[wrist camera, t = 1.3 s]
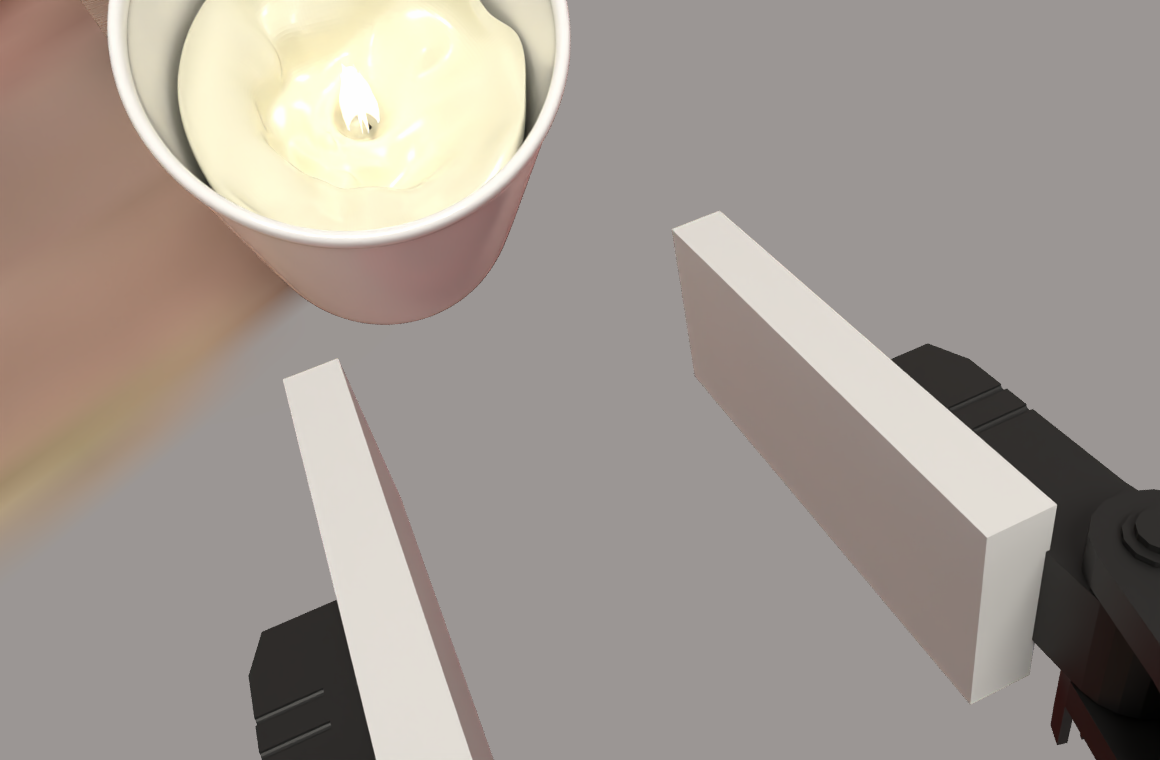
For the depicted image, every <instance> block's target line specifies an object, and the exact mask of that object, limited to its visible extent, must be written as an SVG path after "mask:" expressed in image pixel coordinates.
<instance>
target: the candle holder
mask: <svg viewBox="0 0 1160 760" xmlns="http://www.w3.org/2000/svg"><path fill="white" fill-rule="evenodd" d="M107 37H108V49H109V56H110V62H111V67H112V72H113V76H114V80H115V83H116V87H117V90H118V93H119V95H120V98H121V101H122V103H123V106H124V108H125V110H126V112H127V114H128V117H129V119H130V120H131V122H132V124H133V126H134V128H135V130H136V131H137V133H138V135H139V136H140V138H141V139H142V141H143V142H144V144H145V145H146V147H147V148H148V150H149V151H150V152H151V154H152V155H153V156H154V157H155V159H156V160H157V161H158V162H159V163H160V165H161V166H162V167H163V168H164V169H165V170H166V171H167V172H168V173H169V174H170V175H171V176H172V177H173V178H174V179H175V180H176V181H177V182H178V183H179V184H180V185H181V186H182V187H183V188H184V189H186V190H187V191H188V192H189V193H190V194H192V195H193V196H194V197H196V198H197V199H198V200H200V201H201V202H202V203H204V204H205V205H206V206H207V207H208V208H209V209H210V210H211V211H212V212H213V213H214V214H215V215H216V216H217V217H218V218H220V219H221V220H222V221H223V222H224V223H225V224H226V225H227V226H228V227H229V228H230V229H231V230H232V231H233V232H234V233H235V234H236V235H237V236H238V237H239V238H240V239H241V240H242V241H243V242H244V243H245V244H246V245H247V246H248V247H249V248H250V249H251V250H252V251H253V252H254V253H255V254H256V255H257V256H258V257H259V258H260V259H261V260H262V261H263V262H264V263H265V264H266V265H267V266H268V267H269V268H270V269H271V270H272V271H273V272H274V273H275V274H277V275H278V276H279V277H280V278H281V279H282V280H283V281H284V282H285V283H286V284H287V285H288V286H290V287H291V288H292V289H293V290H294V291H295V292H297V293H298V294H299V295H300V296H302V297H303V298H305V299H306V300H307V301H309V302H310V303H312V304H314V305H315V306H317V307H319V308H321V309H322V310H324V311H327V312H329V313H331V314H333V315H336V316H339V317H342V318H345V319H348V320H352V321H356V322H361V323H368V324H380V325H387V324H388V325H389V324H401V323H408V322H412V321H417V320H421V319H424V318H427V317H430V316H433V315H435V314H437V313H440V312H442V311H444V310H446V309H448V308H449V307H451V306H453V305H454V304H456V303H458V302H459V301H460V300H462V299H463V298H464V297H466V296H467V295H468V294H469V293H470V292H472V291H473V290H474V289H475V288H476V287H477V286H478V285H479V284H480V283H481V281H482V280H483V279H484V278H485V277H486V275H487V274H488V273H489V271H490V270H491V268H492V267H493V265H494V263H495V262H496V260H497V258H498V257H499V255H500V253H501V251H502V249H503V246H504V244H505V242H506V239H507V237H508V234H509V232H510V229H511V227H512V224H513V222H514V219H515V216H516V213H517V210H518V208H519V205H520V203H521V200H522V197H523V194H524V191H525V189H526V186H527V183H528V181H529V178H530V175H531V172H532V169H533V167H534V164H535V161H536V159H537V156H538V153H539V150H540V148H541V145H542V142H543V141H544V138H545V137H546V135H547V133H548V131H549V129H550V127H551V125H552V123H553V121H554V119H555V116H556V114H557V111H558V108H559V106H560V103H561V100H562V96H563V92H564V89H565V84H566V80H567V75H568V69H569V60H570V46H571V44H570V42H571V35H570V20H569V11H568V5H567V0H109V4H108V15H107Z"/></svg>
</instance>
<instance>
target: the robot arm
mask: <svg viewBox="0 0 1160 760" xmlns="http://www.w3.org/2000/svg"><path fill="white" fill-rule="evenodd" d="M672 234H673V241H674V247H675V253H676V260H677V266H678V272H679V279H680V285H681V291H682V298H683V304H684V310H685V317H686V323H687V329H688V336H689V342H690V348H691V354H692V360H693V368H694V374H695V377H696V378H697V379H698V381H699V382H700V383H701V384H702V385H703V387H704V388H705V389H706V390H707V391H708V393H709V394H710V395H711V396H712V397H713V398H714V400H715V401H716V402H717V403H718V405H719V406H720V407H721V408H722V409H723V411H724V412H725V413H726V414H727V415H728V416H729V418H730V419H731V420H732V421H733V422H734V424H735V425H736V426H737V427H738V428H739V430H740V431H741V432H742V433H743V434H744V435H745V437H746V438H747V439H748V440H749V442H750V443H751V444H752V445H753V446H754V447H755V449H756V450H757V451H758V452H759V453H760V455H761V456H762V457H763V458H764V459H765V461H766V462H767V463H768V464H769V465H770V466H771V468H772V469H773V470H774V471H775V472H776V474H777V475H778V476H779V477H780V478H781V480H782V481H783V482H784V483H785V484H786V486H787V487H788V488H789V489H790V490H791V491H792V493H793V494H794V495H795V496H796V497H797V499H798V500H799V501H800V502H801V503H802V505H803V506H804V507H805V508H806V509H807V511H808V512H809V513H810V514H811V515H812V516H813V518H814V519H815V520H816V521H817V523H818V524H819V525H820V526H821V527H822V528H823V530H824V531H825V532H826V533H827V534H828V536H829V537H830V538H831V539H832V540H833V541H834V543H835V544H836V545H837V546H838V548H839V549H840V550H841V551H842V552H843V553H844V555H845V556H846V557H847V558H848V560H849V561H850V562H851V563H852V564H853V565H854V567H855V568H856V569H857V570H858V571H859V573H860V574H861V575H862V576H863V577H864V579H865V580H866V581H867V582H868V583H869V585H870V586H872V588H873V589H874V590H875V592H876V593H877V594H878V595H879V596H880V598H881V599H882V600H883V601H884V602H885V604H886V605H887V606H888V607H889V608H890V609H891V611H892V612H893V613H894V614H895V616H896V617H897V618H898V619H899V620H900V621H901V622H902V624H903V625H904V626H905V627H906V629H907V630H908V631H909V632H910V633H911V635H912V636H913V637H914V638H915V639H916V641H917V642H918V643H919V644H920V645H921V647H922V648H923V649H924V650H925V651H926V652H927V654H928V655H929V656H930V657H931V658H932V660H933V661H934V662H935V663H936V664H937V666H938V667H939V668H940V669H941V670H942V671H943V673H944V674H945V675H946V676H947V678H948V679H949V680H950V681H951V682H952V684H953V685H954V686H955V687H956V688H957V689H958V691H959V692H960V693H961V694H962V695H963V697H965V699H966V700H967V701H968V703H969V704H970V705H971V704H973V703H975V702H976V701H979V700H981V699H983V698H985V697H986V696H988V695H991V694H992V693H994V692H996V691H998V690H1000V689H1002V688H1004V687H1006V686H1008V685H1010V684H1012V683H1014V682H1016V681H1018V680H1020V679H1022V678H1024V677H1026V676H1028V675H1029V674H1030V668H1031V661H1032V656H1033V650H1034V643H1036V644H1037V645H1038V646H1039V647H1040V648H1041V650H1042V651H1043V652H1044V653H1045V654H1046V655H1047V656H1048V657H1049V658H1050V659H1051V660H1052V661H1053V662H1054V663H1055V664H1056V665H1057V666H1058V667H1059V668H1060V669H1061V671H1060V676H1059V681H1058V687H1057V692H1056V697H1055V702H1054V707H1053V714H1052V720H1051V728H1052V731H1053V734H1054V737H1055V740H1056V743H1057V745H1059V744H1064V743H1067V741H1068V737H1069V732H1070V728H1071V723H1072V719H1073V721H1074V723H1075V724H1076V726H1077V728H1078V730H1079V731H1080V736H1081V739H1084V740H1085V742H1086V743H1087V745H1088V747H1089V748H1090V750H1091V752H1092V754H1093V755H1094V757H1095V759H1096V760H1160V490H1155V489H1153V490H1140V491H1138V490H1136V489H1135V488H1133V487H1132V486H1130V485H1129V484H1127V483H1126V482H1124V481H1123V480H1122V479H1120V478H1119V477H1118V476H1117V475H1115V474H1114V473H1113V472H1111V471H1110V470H1109V469H1108V468H1106V467H1105V466H1104V465H1103V464H1101V463H1100V462H1099V461H1098V460H1096V459H1095V458H1094V457H1093V456H1091V455H1090V454H1089V453H1087V452H1086V451H1085V450H1084V449H1082V448H1081V447H1080V446H1079V445H1077V444H1076V443H1075V442H1074V441H1072V440H1071V439H1070V438H1069V437H1067V436H1066V435H1065V434H1063V433H1062V432H1061V431H1060V430H1058V429H1057V428H1056V427H1054V426H1053V425H1052V424H1051V423H1049V422H1048V421H1047V420H1046V419H1044V418H1043V417H1042V416H1041V415H1039V414H1038V413H1037V412H1036V411H1034V410H1033V409H1032V410H1029V409H1028V408H1027V406H1026V403H1024V402H1023V401H1022V400H1020V399H1019V398H1018V397H1017V396H1015V395H1014V394H1013V393H1011V392H1010V391H1009V390H1008V389H1005V390H1003V389H1002V387H1001V384H1000V383H999V382H998V381H996V380H995V379H994V378H993V377H991V376H990V375H989V374H988V373H986V372H985V371H984V370H982V369H981V368H980V367H979V366H977V365H976V364H975V363H974V362H972V361H971V360H970V359H968V358H965V357H962V356H960V355H957V354H954V353H951V352H949V351H946V350H943V349H941V348H938V347H936V346H933V345H930V344H925V345H923V346H921V347H919V348H916V349H914V350H912V351H909V352H907V353H904V354H902V355H900V356H897V357H895V358H893V359H889V358H888V357H887V356H886V355H885V354H884V353H882V352H881V351H880V350H879V349H877V347H875V346H874V345H873V344H872V343H871V342H870V341H869V340H867V339H866V338H865V337H864V336H863V335H862V334H861V333H859V332H858V331H857V330H856V329H855V328H854V327H853V326H851V325H850V324H849V323H848V322H847V321H846V320H845V319H843V318H842V317H841V316H840V315H839V314H838V313H836V312H835V311H834V310H833V309H832V308H831V307H830V306H828V305H827V304H826V303H825V302H824V301H823V300H821V299H820V298H819V297H818V296H817V295H816V294H815V293H813V292H812V291H811V290H810V289H809V288H808V287H807V286H805V285H804V284H803V283H802V282H801V281H800V280H798V279H797V278H796V277H795V276H794V275H793V274H792V273H791V272H789V271H788V270H787V269H786V268H785V267H783V265H781V264H780V263H779V262H778V261H777V260H776V259H774V258H773V257H772V256H771V255H770V254H769V253H768V252H766V251H765V250H764V249H763V248H762V247H761V246H760V245H758V244H757V243H756V242H755V241H754V240H753V239H752V238H750V237H749V236H748V235H747V234H746V233H745V232H743V231H742V230H741V229H740V228H739V227H738V226H737V225H735V224H734V223H733V222H732V221H731V220H730V219H728V218H727V217H726V216H725V215H724V214H723V213H722V212H721V211H718V212H715V213H713V214H710V215H707V216H705V217H702V218H700V219H697V220H694V221H692V222H690V223H687V224H684V225H681V226H679V227H676V228H674V229H672ZM283 382H284V386H285V390H286V394H287V398H288V402H289V406H290V411H291V415H292V418H293V423H294V427H295V430H296V435H297V439H298V443H299V447H300V451H301V455H302V460H303V464H304V467H305V472H306V476H307V480H308V484H309V488H310V492H311V496H312V500H313V504H314V508H315V513H316V516H317V521H318V524H319V529H320V533H321V537H322V541H323V545H324V549H325V553H326V557H327V562H328V566H329V569H330V574H331V578H332V582H333V586H334V590H335V594H336V598H337V600H335V601H333V602H331V603H328V604H326V605H324V606H321V607H319V608H317V609H314V610H312V611H310V612H307V613H305V614H303V615H300V616H298V617H296V618H293V619H291V620H289V621H287V622H284V623H282V624H280V625H277V626H275V627H272V628H270V629H268V630H265V631H263V632H262V633H261V637H260V640H259V643H258V647H257V650H256V653H255V657H254V660H253V663H252V667H251V670H250V673H249V682H250V690H251V697H252V704H253V711H254V718H255V720H256V723H257V726H256V733H257V740H258V748H259V753H260V755H261V758H262V760H493V756H492V754H491V751H490V748H489V745H488V742H487V740H486V737H485V734H484V731H483V728H482V725H481V723H480V720H479V717H478V714H477V711H476V708H475V706H474V703H473V700H472V697H471V694H470V692H469V689H468V686H467V683H466V680H465V677H464V675H463V672H462V670H461V666H460V663H459V660H458V658H457V655H456V652H455V649H454V646H453V644H452V641H451V638H450V635H449V632H448V630H447V627H446V624H445V621H444V618H443V616H442V612H441V610H440V607H439V604H438V601H437V598H436V596H435V593H434V590H433V587H432V585H431V581H430V579H429V576H428V573H427V570H426V567H425V565H424V562H423V559H422V556H421V553H420V550H419V548H418V545H417V542H416V539H415V536H414V534H413V531H412V528H411V525H410V522H409V519H408V517H407V514H406V511H405V508H404V505H403V502H402V500H401V497H400V495H399V493H398V490H397V489H396V486H395V484H394V482H393V480H392V477H391V475H390V473H389V470H388V468H387V466H386V464H385V461H384V459H383V457H382V455H381V453H380V451H379V448H378V446H377V444H376V441H375V439H374V437H373V435H372V433H371V430H370V428H369V426H368V424H367V421H366V419H365V417H364V415H363V413H362V410H361V408H360V406H359V404H358V401H357V399H356V397H355V395H354V392H353V390H352V388H351V386H350V384H349V381H348V379H347V377H346V375H345V372H344V370H343V368H342V366H341V364H340V361H339V359H338V358H337V359H335V360H332V361H329V362H327V363H324V364H322V365H319V366H316V367H314V368H311V369H309V370H306V371H303V372H301V373H298V374H296V375H293V376H290V377H288V378H286V379H283Z"/></svg>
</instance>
